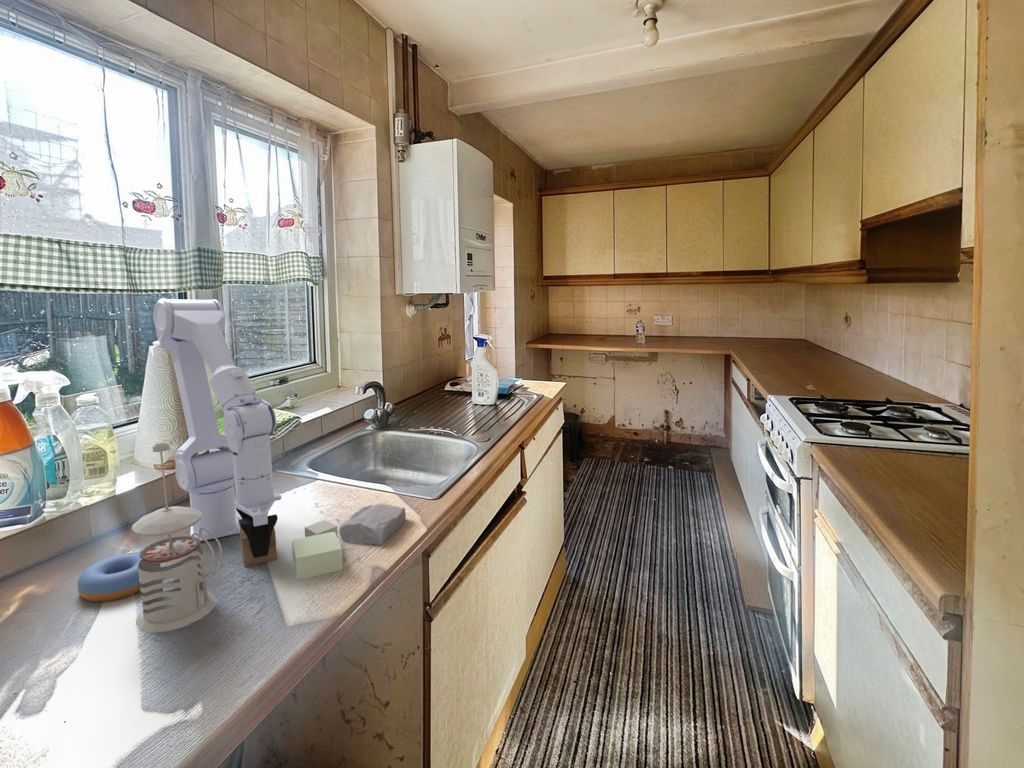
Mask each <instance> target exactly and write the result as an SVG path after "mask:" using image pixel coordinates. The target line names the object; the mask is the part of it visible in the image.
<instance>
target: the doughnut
mask: <svg viewBox="0 0 1024 768" xmlns="http://www.w3.org/2000/svg"><path fill="white" fill-rule="evenodd" d="M140 552H141V551H140ZM140 552H139V551H136V552H133V551H132V552H124V553H119V554H115V555H112V556H109V557H106V558H103V559H101V560H99V561H96V562H95V563H93V564H91V565H89V566H88V567H87V568H86V569H85V570H83V571H82V573H81V574H80V576H79V577H78V579H77V593H78V594H79V596H80V597H82V598H83V599H85V600H87V601H90V602H91V601H92V602H109V601H113V600H114V601H115V600H120V599H123V598H126V597H129V596H132V595H134V594H136V593H139V592H141V591H140V585H141V583H140V582H139V573H138V565H139V562H140V561H141V560H142V558H140V557H139V556H140Z"/></svg>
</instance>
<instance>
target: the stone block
mask: <svg viewBox="0 0 1024 768" xmlns="http://www.w3.org/2000/svg"><path fill="white" fill-rule="evenodd" d="M406 518H407V515H406V508H405V507H403V506H402V507H400V506H397V505H392V504H385V503H378V504H372V505H367V506H364V507H361V508H360V509H359V510H358V511H356V512H354V513H353V514H352V515H351V516H350V518H349V519H348V520H346V521H345V522H344V523H342V524H341V525H340V526H339V531H338V532H339V537H340V538H341V541H342V542H344V543H348V544H352V545H353V544H356V545H357V544H358V545H363V543H364V545H369V544H370V546H372V545H373V546H374V545H375V546H383V545H384V544H385V543H386V542H387V541H388V540H389V539H388V538H389V537H390V536H391V535H394V534H395V532H396V531H397V530H398V529H399V528H400V527H401V526H402V525H403V524H404V523H405V521H406ZM404 520H405V521H404ZM403 522H404V523H403ZM402 523H403V524H402ZM401 524H402V525H401ZM400 525H401V526H400ZM399 526H400V527H399ZM398 527H399V528H398ZM397 528H398V529H397ZM396 529H397V530H396ZM391 537H392V536H391ZM391 537H390V538H391ZM387 539H388V540H387ZM386 540H387V541H386ZM384 542H385V543H384ZM383 543H384V544H383Z"/></svg>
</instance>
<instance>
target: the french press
mask: <svg viewBox="0 0 1024 768" xmlns="http://www.w3.org/2000/svg"><path fill="white" fill-rule="evenodd" d="M168 450H170V446H169V444H168V443H167V442H165V441H157V442H156V443H155V444H153V445H152V452H153V453H159V455H160V464H161V473H162V485H163V494H164V501H165V507H163V508H159V509H155V510H154V511H152V512H150V513H148V514H145V515H142V516H141V517H140V518H139V519H138V520H137V521H136V522H134V523H133V524H132V526H131V531H133V533H135V534H136V535H137V536H142V537H161V536H167V535H168V537H167V538H164V539H161V540H160V539H159V540H156V541H154V542H152V543H151V544H149V545H146V546H145V547H144V548H143V549H142V550H141V551H140V556H139V557H140V558H142V560H141V561H140V562H139V565H138V573H139V582H140V583H141V585H140V591H139V592H140V593H141V595H140V596H141V598H140V599H141V606H142V610H141V612H140V613H139V614H138V615H137V616H136V617H137V619H135V622H136V625H137V626H138V627H139V628H138V627H137V626H136V625H135V626H136V627H137V628H138V630H139V631H141V632H146V633H154V634H155V633H162V632H163V633H164V632H171V631H174V630H178V629H180V628H184V627H187V626H190V625H192V624H194V623H196V622H197V620H198V621H200V620H202V619H203V618H204V617H205V616H207V615H208V614H210V613H211V612H212V611H213V609H214V608H215V607H216V606H217V596H216V595H214V594H212V592H210V591H208V589H209V588H208V579H209V577H211V575H213V574H214V573H216V572H217V571H218V570H219V569H220V567H221V564H222V560H223V547H222V545H221V542H220V540H219V539H218V538H217V537H216V536H215V535H214V534H213V533H212V532H211V531H209V530H207V529H205V528H200V530H199V534H197V533H193V534H192V535H191V534H190V535H189V534H188V535H180V536H179V535H178V536H172V537H171V535H172V534H175V533H179V532H182V531H184V530H188V529H190V528H191V526H193V525H195V524H196V523H197V522H198V521H199V520H200V519H201V517H202V512H200V511H199V510H197V509H194V508H191V507H189V506H188V507H187V506H179V505H174V506H168V498H167V489H166V481H165V480H166V477H165V470H164V458H163V452H167V451H168ZM202 530H205V531H207V532H209V533H210V534H211V535H212V536H213V537H214V539H215V541H216V543H217V545H218V548H219V563H218V565H217V567H216V568H215V566H216V559H215V550H214V548H213V547H212V545H211V544H210V542H209V541H208V540H206V539H205V538H204V537H203V536H201V531H202ZM194 535H196V536H198V538H197V537H195V536H194ZM199 538H202V539H203V540H204V541H203V542H205V543H206V544H207V546H208V548H209V549H210V550H211V556H212V566H211V567H212V568H211V569H210V572H208V573H207V569H206V560H205V559H206V557H205V556H206V555H205V548H203V547H202V546H201V545H202V541H201V540H200V539H199ZM194 552H198V553H199V554H201V555H200V556H199V555H190V554H193V553H194ZM189 555H190V556H189ZM186 556H188V557H186ZM183 557H186V558H184V559H182V560H180V561H178V562H175V563H173V564H170V565H166V566H162V565H161V564H164V563H168V562H173V561H174V560H177V559H181V558H183ZM197 560H198V561H199V562H200V563H199V562H198V561H197ZM190 561H192V562H191V563H189V562H190ZM186 563H188V564H186ZM184 564H185V565H184ZM198 569H200V571H199V570H198ZM199 577H201V578H199ZM167 579H168V580H170V579H174V580H171V581H167V582H163V581H164V580H167ZM165 588H166V589H167V588H169V589H168V590H164V589H165ZM195 621H196V622H195ZM193 622H194V623H193ZM191 623H192V624H191Z"/></svg>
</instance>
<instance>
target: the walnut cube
mask: <svg viewBox="0 0 1024 768" xmlns="http://www.w3.org/2000/svg"><path fill="white" fill-rule="evenodd" d="M239 527H240V526H239ZM239 535H240V547H241V549H240V550H241V556H242V561H243V567H248V566H250V567H251V566H254V565H259V564H261V563H265V562H271V561H275V560H278V554H277V553H278V551H277V536H276V530H275V527H274V528H273V531H272V534H271V539H270V545H269V551H268V555H266V556H262V557H258V558H254V557H253V554H252V551H251V547H250V544H249V540H248V538H247V536H246V534H245V532H244V531H243V530H242V528H241V527H240V533H239Z"/></svg>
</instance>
